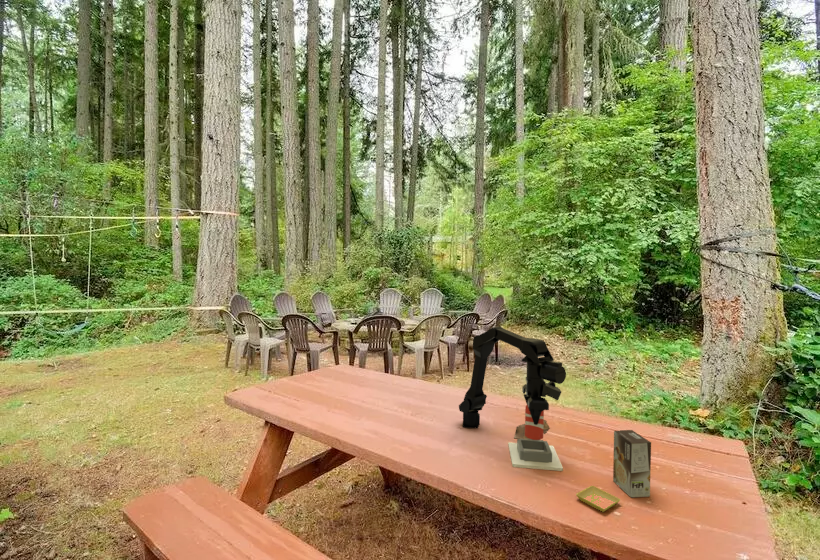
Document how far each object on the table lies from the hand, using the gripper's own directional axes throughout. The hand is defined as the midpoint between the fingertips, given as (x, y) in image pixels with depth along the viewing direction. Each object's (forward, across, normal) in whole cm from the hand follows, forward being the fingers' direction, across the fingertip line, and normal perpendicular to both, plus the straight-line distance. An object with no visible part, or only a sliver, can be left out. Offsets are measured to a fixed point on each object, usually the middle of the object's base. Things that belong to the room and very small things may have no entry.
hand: (534, 420), depth 137 cm
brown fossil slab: (+14, +24, -3) cm, 28 cm away
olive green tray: (+14, -24, -14) cm, 31 cm away
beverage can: (+6, 0, 0) cm, 6 cm away
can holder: (+13, 0, 0) cm, 13 cm away
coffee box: (+13, -15, -26) cm, 33 cm away
